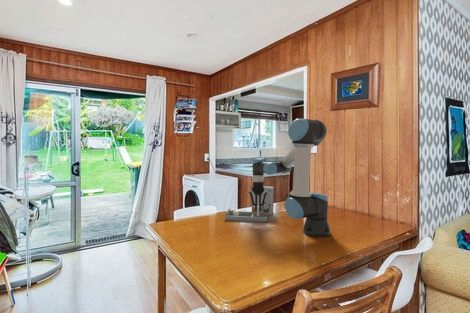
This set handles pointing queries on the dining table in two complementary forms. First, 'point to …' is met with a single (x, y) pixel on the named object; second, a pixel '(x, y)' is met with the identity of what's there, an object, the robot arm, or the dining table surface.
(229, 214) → the lane
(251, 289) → the dining table surface
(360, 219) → the dining table surface
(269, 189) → the hard drive box
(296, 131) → the robot arm
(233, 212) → the ball
